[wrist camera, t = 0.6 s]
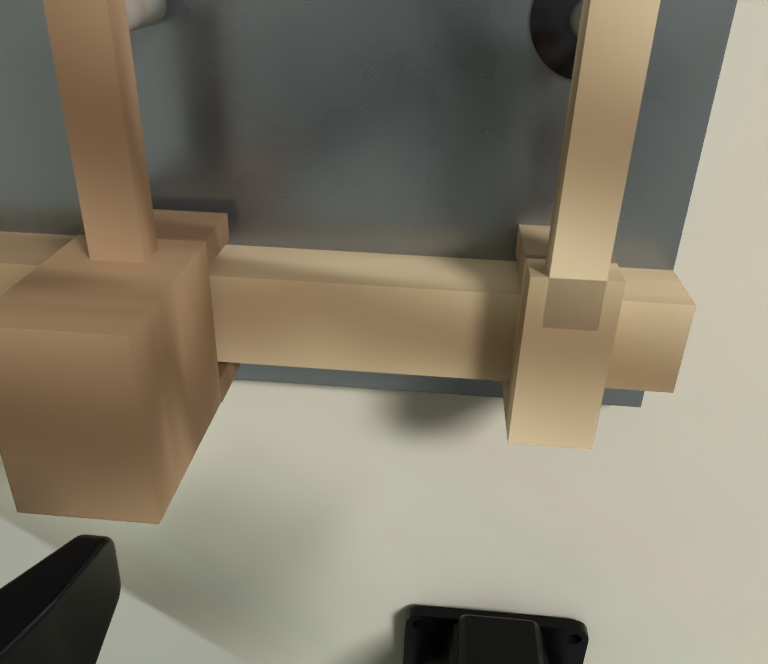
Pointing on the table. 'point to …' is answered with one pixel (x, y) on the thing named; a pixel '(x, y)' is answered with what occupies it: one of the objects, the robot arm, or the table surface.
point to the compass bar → (480, 278)
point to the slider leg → (110, 305)
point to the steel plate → (368, 131)
